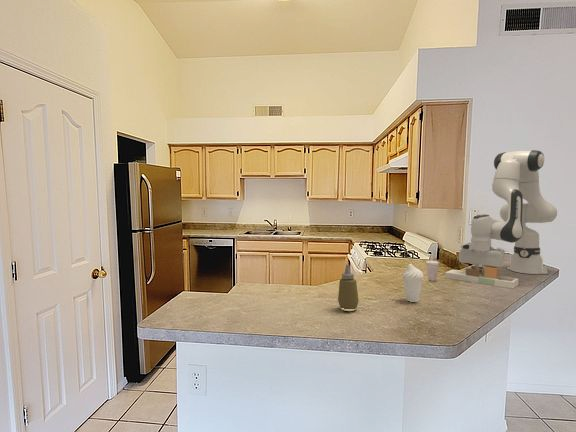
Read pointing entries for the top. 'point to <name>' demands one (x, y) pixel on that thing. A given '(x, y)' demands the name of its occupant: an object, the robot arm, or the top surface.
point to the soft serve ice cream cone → (412, 283)
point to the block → (491, 272)
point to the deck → (481, 278)
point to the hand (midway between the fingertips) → (480, 273)
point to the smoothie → (432, 269)
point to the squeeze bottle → (348, 290)
